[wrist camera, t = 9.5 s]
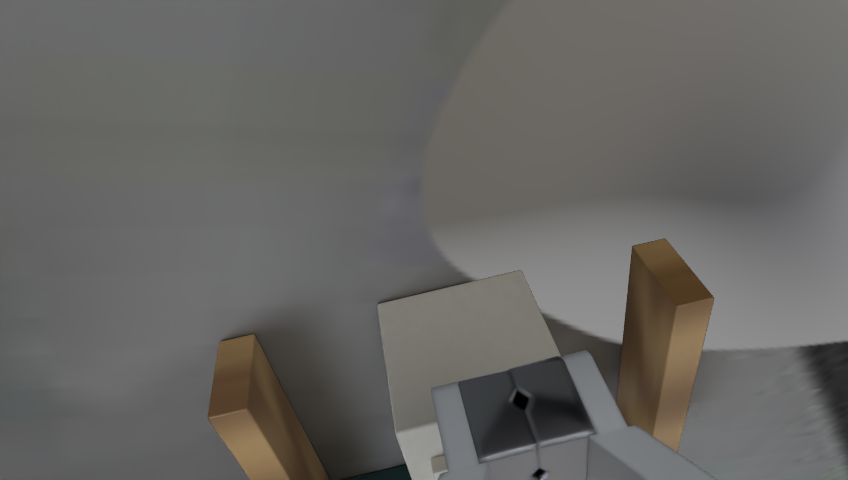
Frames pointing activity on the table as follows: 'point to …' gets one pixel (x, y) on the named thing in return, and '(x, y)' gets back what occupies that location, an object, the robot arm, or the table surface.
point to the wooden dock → (305, 476)
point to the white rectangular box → (454, 352)
